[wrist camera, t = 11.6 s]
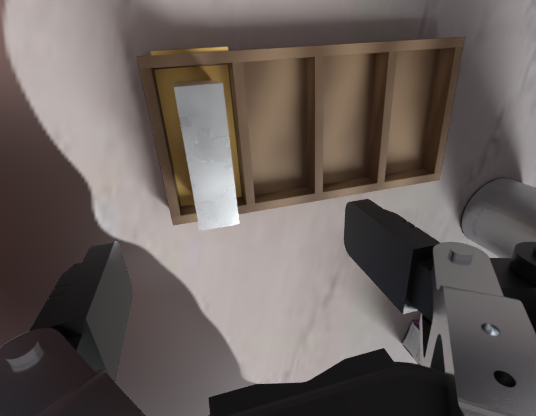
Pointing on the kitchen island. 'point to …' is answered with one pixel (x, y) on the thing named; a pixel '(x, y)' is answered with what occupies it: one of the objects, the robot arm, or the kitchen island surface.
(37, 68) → the kitchen island surface
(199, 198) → the panel
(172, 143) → the rack
